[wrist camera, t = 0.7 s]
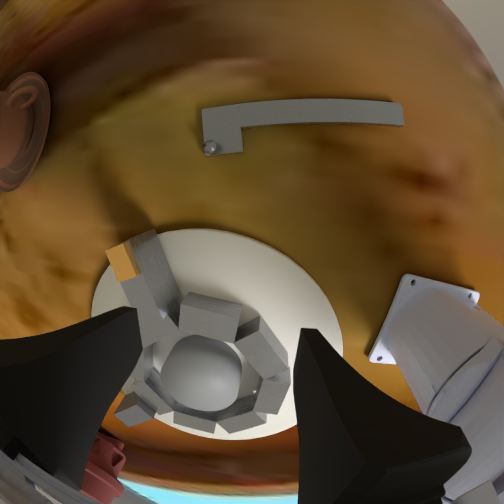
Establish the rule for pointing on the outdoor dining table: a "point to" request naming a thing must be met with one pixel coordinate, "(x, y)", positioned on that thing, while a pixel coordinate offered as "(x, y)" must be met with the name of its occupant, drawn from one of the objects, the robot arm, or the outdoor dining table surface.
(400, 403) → the robot arm
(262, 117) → the pin spanner
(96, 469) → the mechanical component
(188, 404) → the white round disc
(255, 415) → the grey block crown
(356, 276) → the outdoor dining table surface
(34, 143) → the cup and saucer
